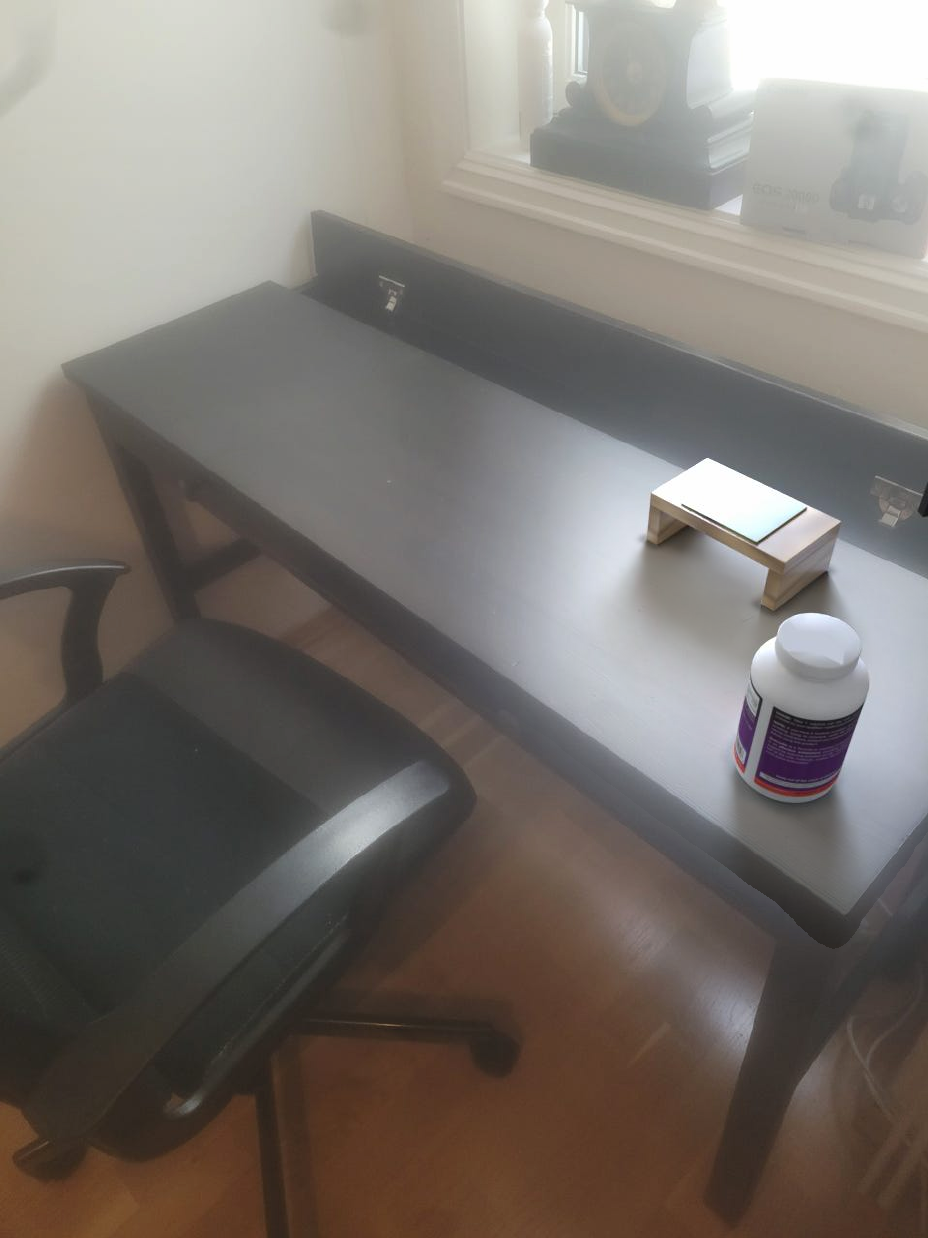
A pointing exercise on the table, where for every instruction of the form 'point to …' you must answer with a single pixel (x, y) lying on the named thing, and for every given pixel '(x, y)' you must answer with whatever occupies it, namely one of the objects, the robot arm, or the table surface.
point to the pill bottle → (801, 708)
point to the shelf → (748, 525)
